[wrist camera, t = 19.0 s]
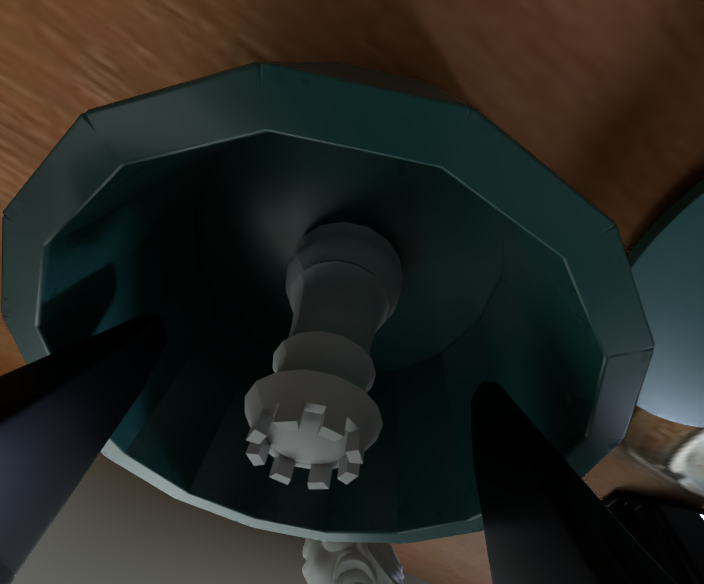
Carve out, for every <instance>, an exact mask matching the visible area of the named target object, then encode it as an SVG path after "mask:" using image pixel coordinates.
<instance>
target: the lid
mask: <svg viewBox="0 0 704 584" xmlns="http://www.w3.org/2000/svg"><path fill="white" fill-rule="evenodd" d="M627 259H628V262H629V265H630V269H631V272H632V275H633V278H634V281H635V284H636V287H637V290H638V293H639V296H640V299H641V303H642V306H643V309H644V312H645V315H646V318H647V321H648V324H649V327H650V330H651V333H652V337H653V340H654V343H655V346H654V352H653V355H652V358H651V361H650V364H649V367H648V370H647V373H646V376H645V379H644V382H643V385H642V388H641V391H640V394H639V397H638V400H637V403H636V406H638V407H640V408H642V409H643V410H645V411H647V412H649V413H651V414H653V415H656V416H658V417H661V418H664V419H666V420H669V421H673V422H677V423H681V424H685V425H691V426H697V427H703V428H704V179H703V180H701V181H700V182H699V183H698V184H697V185H695V186H694V187H693V188H692V189H691V190H690V191H688V192H687V193H686V194H685V195H684V196H683V197H681V198H680V199H679V200H678V201H677V202H676V203H674V204H673V205H672V206H671V207H670V208H669V209H668V210H667V211H666V212H665V213H664V214H663V215H662V216H661V217H660V218H659V219H658V220H657V221H656V222H655V223H654V224H653V225H652V226H651V227H650V228H649V230H648V231H647V232H646V233H645V234H644V235H643V237H642V238H641V239H640V240H639V242H638V243H637V244H636V245H635V247H634V248H633V249H632V250H631V252H630V253H629V254H628V256H627Z"/></svg>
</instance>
